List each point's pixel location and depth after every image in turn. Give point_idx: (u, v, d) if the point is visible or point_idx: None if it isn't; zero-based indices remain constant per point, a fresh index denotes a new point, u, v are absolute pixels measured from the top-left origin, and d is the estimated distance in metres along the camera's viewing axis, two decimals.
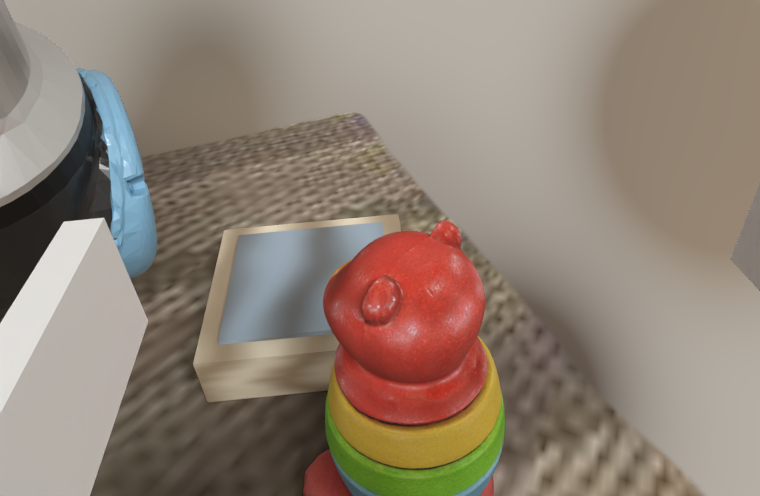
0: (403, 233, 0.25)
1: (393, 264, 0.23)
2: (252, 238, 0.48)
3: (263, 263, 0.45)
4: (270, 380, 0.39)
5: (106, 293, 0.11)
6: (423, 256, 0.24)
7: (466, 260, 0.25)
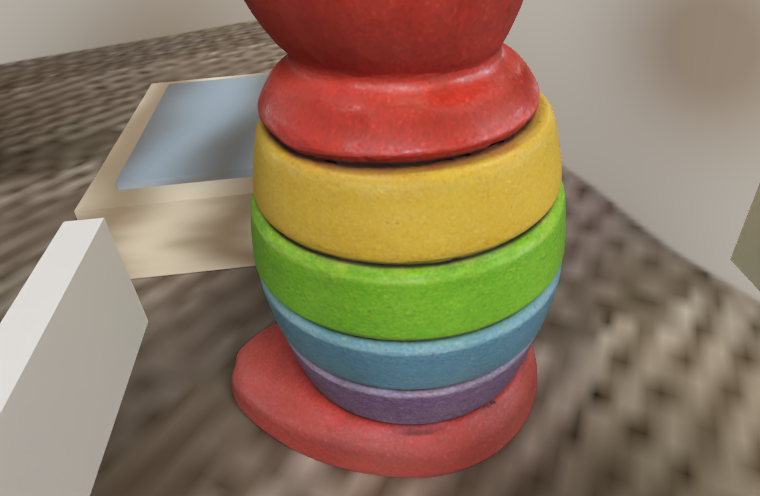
0: None
1: None
2: (186, 86, 0.35)
3: (196, 107, 0.32)
4: (195, 243, 0.27)
5: (106, 293, 0.11)
6: None
7: None
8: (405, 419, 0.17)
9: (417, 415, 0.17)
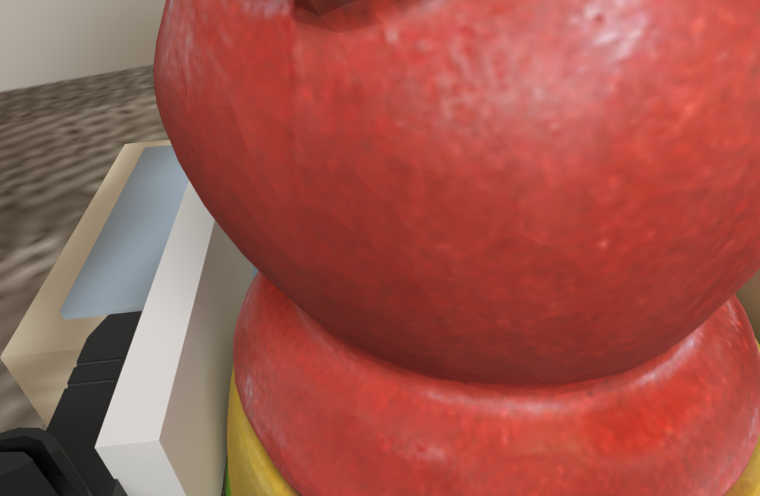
0: None
1: None
2: (165, 151, 0.28)
3: (175, 184, 0.26)
4: None
5: None
6: None
7: None
8: None
9: None
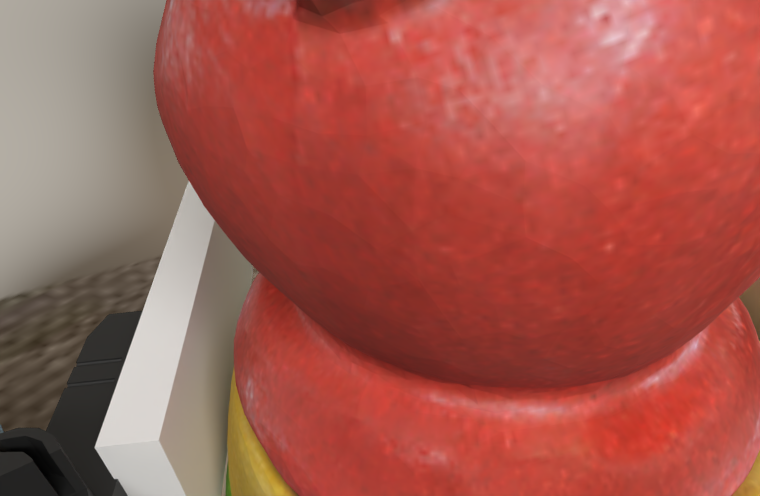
0: None
1: None
2: None
3: None
4: None
5: None
6: None
7: None
8: None
9: None
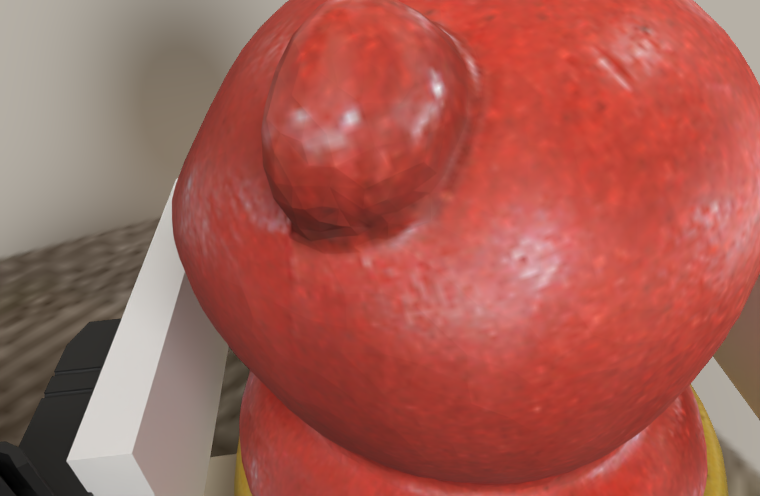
0: None
1: None
2: None
3: None
4: None
5: None
6: None
7: None
8: None
9: None
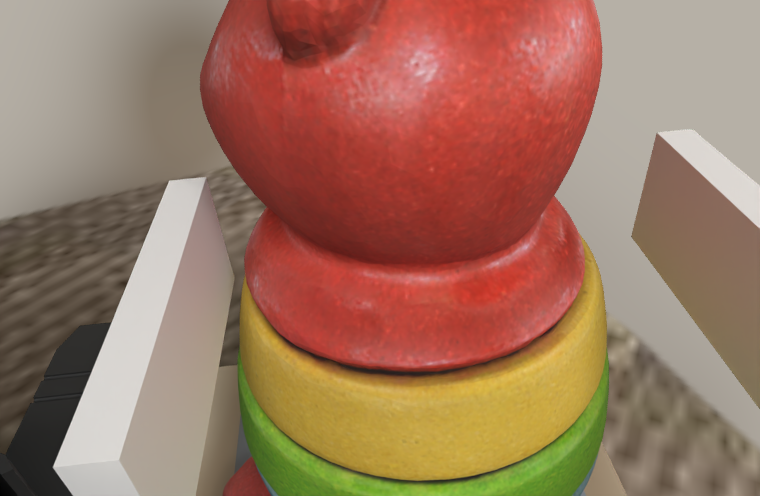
0: None
1: None
2: None
3: None
4: None
5: (210, 245, 0.12)
6: None
7: None
8: None
9: None
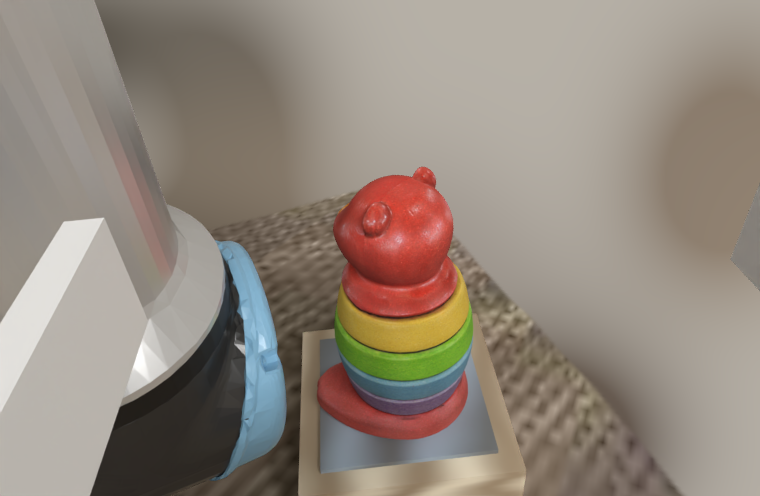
0: (392, 175, 0.34)
1: (385, 194, 0.32)
2: (334, 344, 0.48)
3: None
4: None
5: (106, 293, 0.11)
6: (406, 189, 0.33)
7: (438, 194, 0.34)
8: (402, 412, 0.38)
9: (407, 411, 0.38)
